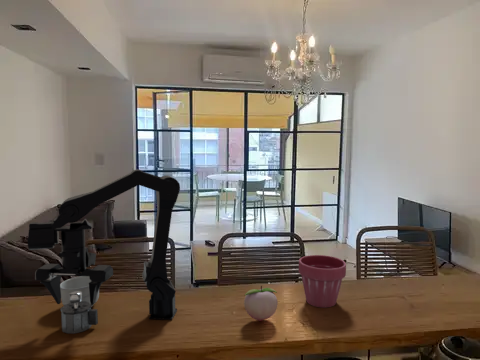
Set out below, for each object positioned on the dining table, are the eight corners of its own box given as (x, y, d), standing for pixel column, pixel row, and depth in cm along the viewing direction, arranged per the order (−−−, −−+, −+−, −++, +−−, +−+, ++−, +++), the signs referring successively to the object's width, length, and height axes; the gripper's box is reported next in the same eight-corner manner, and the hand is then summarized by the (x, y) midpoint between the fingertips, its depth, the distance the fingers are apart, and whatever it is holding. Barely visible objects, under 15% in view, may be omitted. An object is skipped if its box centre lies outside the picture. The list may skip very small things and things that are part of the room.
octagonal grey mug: (102, 321, 109) (102, 302, 108) (91, 334, 102) (90, 313, 101) (70, 320, 110) (69, 301, 109) (56, 332, 102) (55, 312, 102)
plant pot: (355, 304, 120) (356, 263, 119) (322, 315, 113) (323, 271, 111) (320, 289, 132) (321, 252, 131) (288, 299, 124) (289, 259, 123)
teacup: (86, 316, 112) (85, 289, 111) (52, 313, 114) (50, 286, 114) (111, 297, 126) (110, 273, 125) (80, 294, 128) (79, 270, 127)
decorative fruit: (254, 331, 103) (254, 294, 102) (239, 319, 110) (239, 284, 109) (284, 323, 107) (284, 288, 106) (268, 312, 115) (268, 278, 114)
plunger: (89, 318, 108) (87, 290, 107) (81, 326, 103) (79, 296, 102) (72, 318, 108) (71, 289, 107) (63, 325, 103) (62, 296, 103)
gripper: (120, 239, 111) (121, 293, 112) (55, 238, 112) (58, 291, 114) (103, 250, 100) (105, 310, 101) (32, 248, 101) (35, 307, 103)
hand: (75, 304), depth 105 cm, fingers open, 9 cm apart
